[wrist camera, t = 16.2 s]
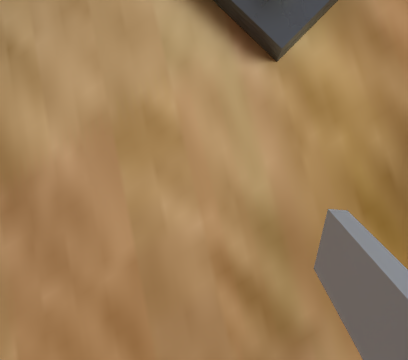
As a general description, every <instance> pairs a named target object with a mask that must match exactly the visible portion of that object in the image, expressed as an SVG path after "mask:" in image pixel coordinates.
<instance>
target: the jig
mask: <svg viewBox="0 0 408 360" xmlns="http://www.w3.org/2000/svg"><path fill="white" fill-rule="evenodd" d="M213 1H214V2H215V3H216V4H217V5H218V6H220V7H221V8H222V9H223V10H224V11H225V12H226V13H227V14H228V15H229V16H230V17H231V18H232V19H233V20H234V21H235V22H236V23H237V24H238V25H239V26H240V27H241V28H242V29H243V30H245V31H246V32H247V33H248V34H249V35H250V36H251V37H252V38H253V39H254V40H255V41H256V42H257V43H258V44H259V45H260V46H261V47H262V48H263V49H264V50H265V51H266V52H267V53H268V54H270V55H271V56H272V57H273V58H274V59H275V60H276V61H278V60H279V59H280V58H281V57H282V56H283V55H284V54H285V53H286V52H287V51H288V50H289V49H290V48H291V47H292V46H293V45H294V44H295V43H296V42H297V41H298V40H299V39H300V38H301V37H302V36H303V35H304V34H305V33H306V32H307V31H308V30H309V29H310V28H311V27H312V26H313V25H314V24H315V23H316V22H317V21H318V20H319V19H320V18H321V17H322V16H323V15H324V14H325V13H326V12H327V11H328V10H329V9H330V8H331V7H332V6H333V5H334V4H335V3H336V2H337V1H338V0H213Z"/></svg>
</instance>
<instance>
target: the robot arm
mask: <svg viewBox="0 0 408 360" xmlns="http://www.w3.org/2000/svg"><path fill="white" fill-rule="evenodd" d="M314 270H315V272H316V274H317V275H318V277H319V279H320V281H321V283H322V285H323V287H324V288H325V290H326V292H327V294H328V296H329V298H330V299H331V301H332V303H333V305H334V307H335V309H336V311H337V312H338V314H339V316H340V318H341V320H342V322H343V324H344V325H345V327H346V329H347V331H348V333H349V335H350V336H351V338H352V340H353V342H354V344H355V346H356V348H357V349H358V351H359V353H360V355H361V357H362V359H363V360H408V270H407V269H406V268H405V267H404V266H403V265H402V264H401V263H400V262H399V261H398V260H397V259H396V258H395V257H394V256H393V255H392V254H391V253H390V252H389V251H388V250H387V249H386V248H385V247H384V246H383V245H382V244H381V243H380V242H379V241H378V240H377V239H376V238H375V237H374V236H373V235H372V234H371V233H370V232H369V231H368V230H367V229H366V228H365V227H364V226H363V225H362V224H361V223H360V222H359V221H358V220H357V219H355V218H354V217H353V216H352V215H351V214H350V213H349V212H348V211H347V210H334V209H328V211H327V215H326V219H325V224H324V228H323V232H322V236H321V240H320V245H319V249H318V253H317V257H316V261H315V265H314Z"/></svg>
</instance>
